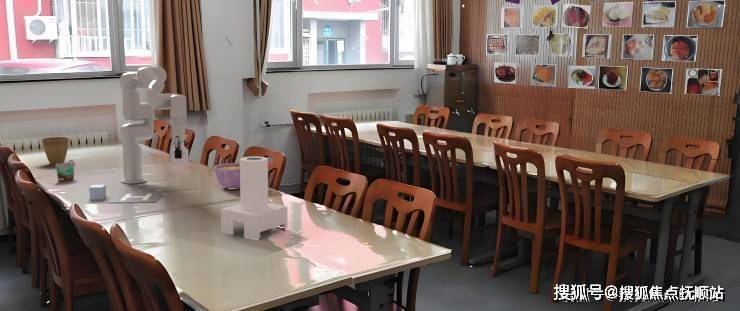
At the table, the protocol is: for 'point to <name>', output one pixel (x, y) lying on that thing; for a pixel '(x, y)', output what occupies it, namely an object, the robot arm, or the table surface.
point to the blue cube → (97, 191)
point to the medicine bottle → (184, 159)
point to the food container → (65, 171)
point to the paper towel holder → (253, 201)
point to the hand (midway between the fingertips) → (179, 156)
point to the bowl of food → (228, 175)
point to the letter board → (136, 197)
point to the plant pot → (55, 149)
